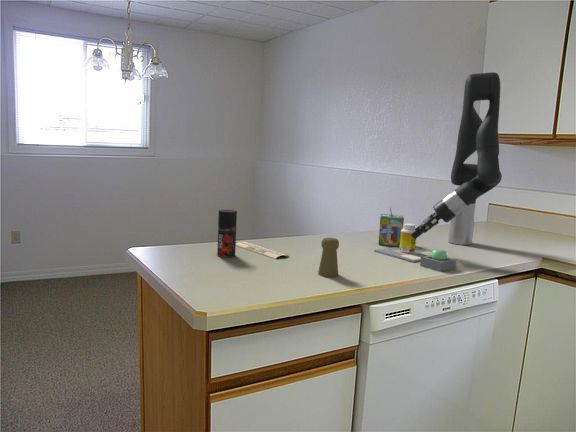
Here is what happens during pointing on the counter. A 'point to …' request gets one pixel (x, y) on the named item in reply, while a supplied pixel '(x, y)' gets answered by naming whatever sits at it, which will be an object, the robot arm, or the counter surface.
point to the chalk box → (390, 229)
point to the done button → (439, 255)
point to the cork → (329, 258)
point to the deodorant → (227, 233)
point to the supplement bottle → (407, 239)
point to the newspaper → (260, 250)
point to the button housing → (438, 263)
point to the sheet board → (405, 254)
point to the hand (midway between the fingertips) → (413, 234)
